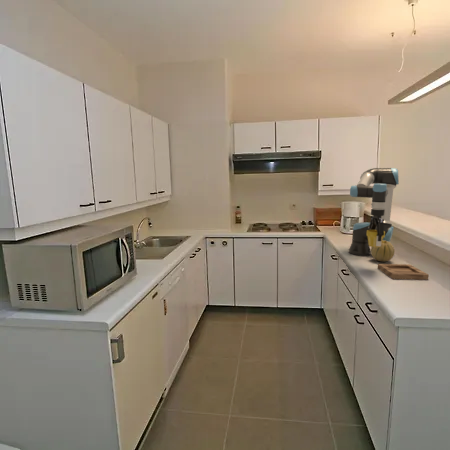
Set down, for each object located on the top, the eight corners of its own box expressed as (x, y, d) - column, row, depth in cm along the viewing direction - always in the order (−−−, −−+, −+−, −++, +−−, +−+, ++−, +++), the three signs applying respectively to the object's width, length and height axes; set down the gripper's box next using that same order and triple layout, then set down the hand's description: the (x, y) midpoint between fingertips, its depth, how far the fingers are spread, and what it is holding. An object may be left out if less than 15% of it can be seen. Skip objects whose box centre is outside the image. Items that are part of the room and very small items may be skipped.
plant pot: (374, 243, 207) (376, 229, 206) (387, 247, 197) (389, 231, 196) (361, 245, 204) (363, 229, 202) (374, 248, 194) (375, 232, 192)
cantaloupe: (381, 257, 230) (382, 237, 227) (398, 263, 216) (400, 241, 214) (364, 259, 224) (366, 238, 222) (381, 265, 211) (384, 243, 208)
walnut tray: (377, 268, 204) (377, 264, 203) (409, 269, 203) (410, 264, 203) (392, 279, 184) (393, 274, 184) (428, 279, 184) (428, 274, 183)
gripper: (364, 206, 208) (362, 240, 212) (379, 211, 186) (375, 248, 189) (376, 207, 208) (373, 240, 211) (392, 211, 185) (388, 248, 189)
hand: (374, 244), depth 200 cm, fingers closed on plant pot, 10 cm apart
